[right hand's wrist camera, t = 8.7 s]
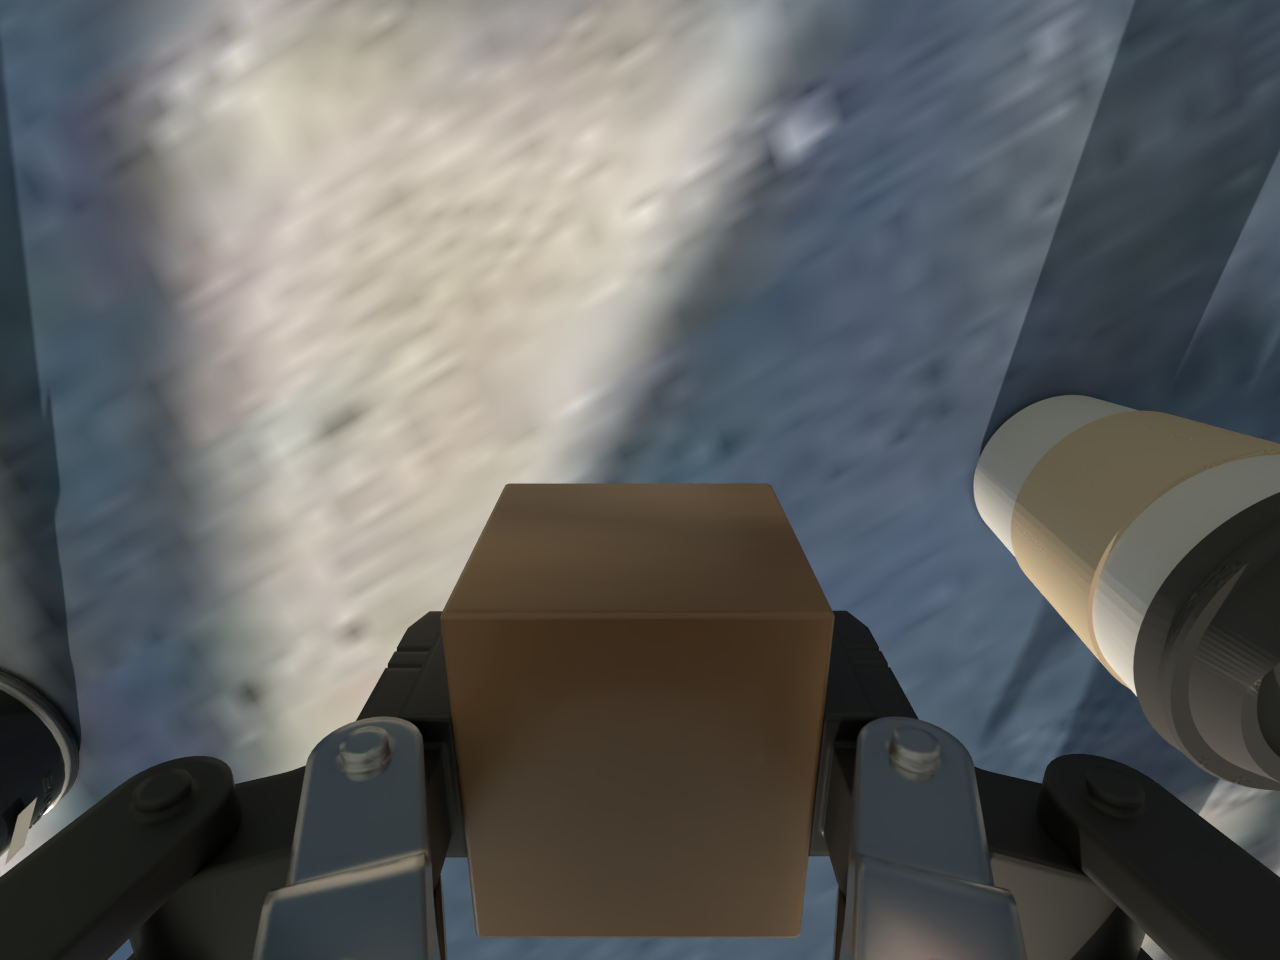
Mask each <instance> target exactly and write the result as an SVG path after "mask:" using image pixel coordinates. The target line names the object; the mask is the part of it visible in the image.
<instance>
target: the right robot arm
mask: <svg viewBox="0 0 1280 960" xmlns="http://www.w3.org/2000/svg"><path fill="white" fill-rule="evenodd" d="M442 612H443V611H430V612H428V613H427V614H426V615H424V616H423V617H422V618H421V619H419V620H418V621H417V622H415V623H414V624H413V625H411V626H410V627H409V628H408V629H407V631H406V633H405V634H404V636H403V638H402V640H401V641H400V643H399V645H398V647H397V652H394V654H393V656H392V658H391V659H390V661H389V663H388V668H385V670H384V672H383V674H382V675H381V677H380V679H379V681H378V683H377V684H376V686H375V688H374V690H373V691H372V693H371V695H370V697H369V699H368V700H367V702H366V704H365V706H364V708H363V709H362V711H361V713H360V715H359V717H358V718H357V720H356V721H355V722H352V723H349V724H347V725H345V726H343V727H340V728H339V729H337V730H335V731H333V732H332V733H330V734H329V735H328V736H326V737H325V738H324V739H322V740H321V741H320V742H319V743H318V744H317V745H316V747H315V748H314V749H313V750H312V752H311V754H310V755H309V757H308V760H307V764H306V766H303V767H301V768H298V769H295V770H293V771H289V772H285V773H282V774H278V775H273V776H269V777H265V778H260V779H256V780H251V781H247V782H243V783H238V784H235V783H234V779H233V775H232V772H231V769H230V767H229V766H228V765H227V764H226V763H225V762H223V761H221V760H219V759H216V758H213V757H207V756H192V757H184V758H179V759H174V760H171V761H167V762H164V763H161V764H158V765H156V766H153V767H151V768H149V769H147V770H144V771H142V772H140V773H138V774H137V775H135V776H133V777H132V778H130V779H128V780H127V781H125V782H124V783H123V784H121V785H120V786H118V787H117V788H116V789H114V790H113V791H112V792H111V793H109V794H108V795H107V796H105V797H104V798H103V799H101V800H100V801H99V802H98V803H96V804H95V805H94V806H92V807H91V808H90V809H88V810H87V811H86V812H85V813H83V814H82V815H81V816H79V817H78V818H77V819H75V820H74V821H73V822H72V823H70V824H69V825H68V826H66V827H65V828H64V829H62V830H61V831H60V832H59V833H57V834H56V835H55V836H53V837H52V838H51V839H49V840H48V841H47V842H46V843H44V844H43V845H42V846H40V847H39V848H38V849H36V850H35V851H34V852H33V853H31V854H30V855H29V856H27V857H26V858H25V859H23V860H22V861H21V862H19V863H18V864H17V865H16V866H14V867H13V868H12V869H10V870H9V871H8V872H6V873H5V874H4V875H3V876H1V877H0V960H107V959H108V958H109V957H110V956H111V955H112V954H114V953H115V952H116V951H117V950H118V949H119V948H120V947H121V946H122V945H123V944H124V943H125V942H126V941H127V940H128V939H129V940H130V943H131V946H132V948H133V951H134V953H133V954H132V955H131V956H130V957H129V958H128V959H127V960H448V959H447V944H446V928H445V913H444V898H443V890H442V883H441V875H440V874H441V870H442V867H443V864H444V860H445V857H467V848H466V839H465V830H464V821H463V812H462V803H461V794H460V786H459V777H458V768H457V759H456V750H455V741H454V732H453V723H452V716H451V707H450V698H449V689H448V680H447V671H446V662H445V653H444V644H443V635H442V626H441V614H442ZM833 614H834V616H835V619H834V628H833V637H832V646H831V656H830V665H829V674H828V683H827V692H826V701H825V711H824V719H823V728H822V737H821V746H820V755H819V764H818V774H817V783H816V792H815V801H814V810H813V819H812V829H811V838H810V847H809V856H830V859H831V863H832V866H833V869H834V873H835V876H836V880H837V882H838V890H837V898H836V913H835V928H834V944H833V959H832V960H1153V959H1152V958H1151V957H1150V956H1149V955H1148V954H1147V953H1146V952H1145V951H1144V950H1143V949H1142V948H1141V945H1142V942H1143V939H1144V936H1145V933H1146V934H1147V935H1148V936H1149V937H1150V938H1151V939H1152V940H1153V941H1154V942H1155V943H1156V944H1157V945H1158V946H1159V947H1160V948H1161V949H1162V950H1163V951H1164V952H1165V953H1166V954H1167V955H1169V956H1170V957H1171V958H1172V959H1173V960H1280V877H1279V876H1277V875H1276V874H1275V873H1273V872H1272V871H1271V870H1270V869H1268V868H1267V867H1266V866H1264V865H1263V864H1262V863H1260V862H1259V861H1258V860H1257V859H1255V858H1254V857H1253V856H1251V855H1250V854H1249V853H1247V852H1246V851H1245V850H1244V849H1242V848H1241V847H1240V846H1238V845H1237V844H1236V843H1234V842H1233V841H1232V840H1231V839H1229V838H1228V837H1227V836H1225V835H1224V834H1223V833H1221V832H1220V831H1219V830H1218V829H1216V828H1215V827H1214V826H1212V825H1211V824H1210V823H1208V822H1207V821H1206V820H1205V819H1203V818H1202V817H1201V816H1199V815H1198V814H1197V813H1195V812H1194V811H1193V810H1192V809H1190V808H1189V807H1188V806H1186V805H1185V804H1184V803H1182V802H1181V801H1180V800H1179V799H1177V798H1176V797H1175V796H1173V795H1172V794H1171V793H1169V792H1168V791H1167V790H1165V789H1164V788H1163V787H1162V786H1160V785H1159V784H1158V783H1156V782H1155V781H1153V780H1152V779H1151V778H1149V777H1148V776H1146V775H1144V774H1142V773H1141V772H1139V771H1137V770H1135V769H1133V768H1131V767H1129V766H1127V765H1124V764H1122V763H1119V762H1117V761H1114V760H1111V759H1107V758H1104V757H1099V756H1094V755H1086V754H1070V755H1064V756H1061V757H1058V758H1056V759H1054V760H1053V761H1051V762H1050V763H1049V765H1048V766H1047V768H1046V771H1045V774H1044V778H1043V782H1042V784H1041V783H1037V782H1032V781H1028V780H1023V779H1019V778H1015V777H1010V776H1006V775H1002V774H997V773H993V772H989V771H986V770H982V769H979V768H977V767H974V764H973V760H972V757H971V755H970V754H969V752H968V750H967V749H966V748H965V747H964V745H963V744H962V743H961V742H960V741H959V740H958V739H956V738H955V737H954V736H952V735H951V734H950V733H948V732H947V731H945V730H943V729H941V728H940V727H937V726H935V725H933V724H931V723H928V722H925V721H922V720H919V719H918V717H917V716H916V714H915V712H914V710H913V708H912V707H911V705H910V703H909V701H908V699H907V697H906V696H905V694H904V692H903V690H902V688H901V687H900V685H899V683H898V681H897V679H896V677H895V676H894V674H893V672H892V670H891V668H890V667H888V663H887V661H886V659H885V657H884V656H883V654H882V652H881V651H879V647H878V645H877V643H876V641H875V639H874V637H873V636H872V634H871V632H870V630H869V628H868V627H867V626H865V625H864V624H863V623H861V622H860V621H859V620H858V619H856V618H855V617H854V616H852V615H851V614H850V613H849V612H847V611H833ZM78 769H79V753H78V747H77V744H76V740H75V738H74V736H73V733H72V731H71V729H70V727H69V726H68V724H67V722H66V721H65V719H64V718H63V717H62V715H61V714H60V713H59V712H58V710H57V709H56V708H55V707H54V706H53V705H52V704H51V703H50V702H49V701H48V700H47V699H46V698H45V697H43V696H42V695H41V694H40V693H38V692H37V691H36V690H34V689H33V688H32V687H30V686H29V685H27V684H25V683H24V682H22V681H20V680H19V679H17V678H15V677H13V676H11V675H9V674H6V673H4V672H2V671H0V857H1V856H2V855H3V854H4V853H5V852H6V851H7V850H8V849H9V852H8V856H7V860H6V863H5V865H6V864H7V863H8V862H9V861H10V860H11V859H12V858H13V857H14V856H15V855H16V853H17V852H18V851H19V850H20V849H21V848H22V847H23V846H24V844H25V840H26V836H27V833H28V829H30V828H31V827H32V826H33V825H34V824H35V823H36V822H37V821H38V820H39V819H40V818H41V817H42V815H43V814H45V813H46V812H48V811H49V810H50V809H52V808H53V807H54V806H55V805H56V804H57V803H58V802H59V801H60V800H61V799H62V798H63V797H64V796H65V795H66V794H67V793H68V791H69V790H70V789H71V787H72V786H73V784H74V782H75V780H76V777H77V774H78Z"/></svg>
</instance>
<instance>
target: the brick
mask: <svg viewBox="0 0 1280 960" xmlns="http://www.w3.org/2000/svg"><path fill="white" fill-rule="evenodd" d="M834 619H835V616H834V614H833V611H832V609H831V607H830V605H829V603H828V601H827V599H826V597H825V595H824V593H823V591H822V589H821V587H820V585H819V583H818V580H817V578H816V576H815V574H814V572H813V570H812V568H811V566H810V564H809V562H808V560H807V558H806V556H805V554H804V552H803V550H802V548H801V546H800V543H799V541H798V539H797V537H796V535H795V533H794V531H793V529H792V527H791V525H790V523H789V521H788V519H787V517H786V515H785V513H784V511H783V508H782V506H781V504H780V502H779V500H778V498H777V496H776V494H775V492H774V490H773V488H772V486H771V485H770V484H507V485H505V487H504V489H503V491H502V493H501V495H500V497H499V499H498V501H497V503H496V505H495V507H494V509H493V511H492V513H491V515H490V517H489V519H488V521H487V523H486V525H485V527H484V529H483V531H482V533H481V535H480V537H479V539H478V541H477V543H476V545H475V547H474V549H473V551H472V553H471V555H470V557H469V559H468V561H467V563H466V565H465V567H464V569H463V572H462V574H461V576H460V578H459V580H458V582H457V584H456V586H455V588H454V590H453V592H452V594H451V596H450V598H449V600H448V602H447V604H446V606H445V608H444V610H443V612H442V614H441V626H442V635H443V644H444V653H445V662H446V671H447V680H448V689H449V698H450V707H451V716H452V723H453V732H454V741H455V750H456V759H457V768H458V777H459V786H460V794H461V803H462V812H463V821H464V830H465V839H466V848H467V859H468V868H469V877H470V886H471V895H472V904H473V913H474V922H475V930H476V934H477V936H479V937H797V936H799V934H800V930H801V921H802V912H803V903H804V894H805V884H806V875H807V866H808V857H809V847H810V838H811V829H812V819H813V810H814V801H815V792H816V783H817V774H818V764H819V755H820V746H821V737H822V728H823V719H824V711H825V701H826V692H827V683H828V674H829V665H830V656H831V646H832V637H833V628H834Z"/></svg>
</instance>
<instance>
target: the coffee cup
mask: <svg viewBox="0 0 1280 960" xmlns="http://www.w3.org/2000/svg"><path fill="white" fill-rule="evenodd" d="M974 497H975V502H976V506H977V508H978V511H979V513H980V515H981V517H982V518H983V520H984V521H985V523H986V524H987V525H988V526H989V527H990V528H991V530H992V531H993V532H994V533H995V534H996V535H997V537H998V538H999V539H1000V540H1001V541H1002V542H1003V543H1004V545H1005V546H1006V547H1007V548H1008V549H1009V550H1010V551H1011V553H1012V554H1013V555H1014V556H1015V557H1016V559H1017V561H1018V563H1019V565H1020V567H1021V569H1022V570H1023V572H1024V573H1025V574H1026V575H1027V577H1028V578H1029V579H1030V580H1031V581H1032V582H1033V584H1034V585H1035V586H1036V587H1037V588H1038V589H1039V591H1040V592H1041V593H1042V594H1043V595H1044V596H1045V598H1046V599H1047V600H1048V601H1049V602H1050V603H1051V605H1052V606H1053V607H1054V608H1055V609H1056V610H1057V612H1058V613H1059V614H1060V615H1061V616H1062V617H1063V619H1064V620H1065V621H1066V622H1067V623H1068V624H1069V626H1070V627H1071V628H1072V629H1073V630H1074V631H1075V633H1076V634H1077V635H1078V636H1079V637H1080V638H1081V640H1082V641H1083V642H1084V643H1085V644H1086V645H1087V647H1088V648H1089V649H1090V650H1091V651H1092V652H1093V654H1094V655H1095V656H1096V657H1097V658H1098V659H1099V661H1100V662H1101V663H1102V664H1103V665H1104V666H1105V668H1106V669H1107V670H1108V671H1109V672H1110V673H1111V674H1112V675H1113V676H1114V677H1115V678H1116V679H1117V680H1118V681H1119V682H1121V683H1122V684H1123V685H1125V686H1126V687H1128V688H1129V689H1131V690H1132V691H1133V693H1134V694H1135V695H1136V696H1137V697H1138V700H1139V703H1140V706H1141V708H1142V710H1143V712H1144V714H1145V716H1146V718H1147V719H1148V721H1149V722H1150V724H1151V725H1152V726H1153V728H1154V729H1155V730H1156V731H1157V732H1158V733H1159V734H1160V736H1161V737H1162V738H1164V739H1165V740H1166V741H1167V742H1168V743H1169V744H1171V745H1172V746H1173V747H1175V748H1176V749H1178V750H1179V751H1181V752H1183V753H1184V754H1185V755H1186V756H1187V757H1188V758H1189V759H1190V760H1191V761H1192V762H1193V763H1195V764H1196V765H1197V766H1198V767H1200V768H1201V769H1203V770H1204V771H1206V772H1208V773H1209V774H1211V775H1213V776H1215V777H1217V778H1220V779H1222V780H1225V781H1227V782H1230V783H1233V784H1237V785H1241V786H1246V787H1251V788H1257V789H1266V790H1280V444H1279V443H1275V442H1272V441H1268V440H1264V439H1260V438H1257V437H1253V436H1249V435H1245V434H1242V433H1238V432H1234V431H1231V430H1227V429H1223V428H1219V427H1216V426H1212V425H1208V424H1204V423H1201V422H1197V421H1193V420H1190V419H1186V418H1182V417H1178V416H1175V415H1171V414H1167V413H1163V412H1157V411H1139V410H1136V409H1132V408H1128V407H1125V406H1121V405H1118V404H1114V403H1110V402H1107V401H1103V400H1100V399H1096V398H1093V397H1088V396H1082V395H1063V396H1056V397H1052V398H1048V399H1044V400H1041V401H1039V402H1036V403H1034V404H1032V405H1030V406H1028V407H1026V408H1024V409H1022V410H1021V411H1019V412H1018V413H1016V414H1015V415H1013V416H1012V417H1011V418H1010V419H1008V420H1007V421H1006V422H1005V423H1004V424H1003V425H1002V426H1001V427H1000V428H999V429H998V430H997V431H996V432H995V433H994V435H993V436H992V437H991V439H990V440H989V441H988V443H987V445H986V446H985V448H984V450H983V452H982V454H981V456H980V458H979V461H978V464H977V467H976V471H975V476H974Z"/></svg>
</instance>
